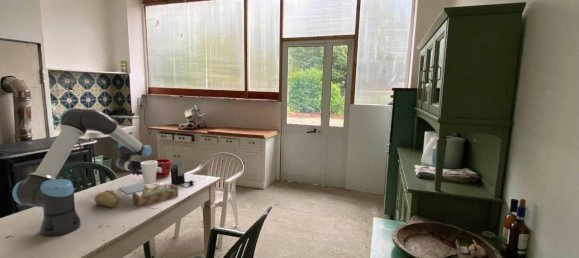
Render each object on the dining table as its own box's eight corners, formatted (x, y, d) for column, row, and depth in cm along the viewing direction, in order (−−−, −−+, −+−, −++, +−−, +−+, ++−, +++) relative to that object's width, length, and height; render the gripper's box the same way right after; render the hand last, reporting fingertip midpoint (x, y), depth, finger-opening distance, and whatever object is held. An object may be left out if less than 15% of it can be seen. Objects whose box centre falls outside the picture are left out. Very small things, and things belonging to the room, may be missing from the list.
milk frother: (172, 181, 209) (171, 161, 207) (194, 179, 214) (194, 160, 212) (169, 187, 196) (169, 166, 194) (194, 186, 200) (193, 165, 198)
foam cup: (157, 184, 178) (156, 163, 177) (140, 185, 175) (140, 164, 173) (158, 179, 187) (157, 160, 185) (142, 180, 184) (141, 161, 182)
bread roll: (105, 200, 173) (104, 187, 172) (124, 204, 168) (123, 190, 167) (89, 206, 164) (88, 192, 163) (109, 210, 159) (108, 196, 158)
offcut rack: (137, 206, 164) (137, 196, 163) (132, 203, 169) (132, 193, 168) (178, 196, 182) (177, 186, 181) (172, 192, 187) (172, 184, 186)
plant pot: (156, 179, 212) (155, 163, 210) (150, 175, 222) (150, 160, 220) (174, 176, 221) (173, 161, 219) (168, 172, 230) (167, 157, 229)
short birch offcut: (147, 192, 169) (146, 188, 169) (144, 190, 172) (143, 186, 172) (167, 187, 178) (166, 183, 177) (163, 185, 181) (163, 182, 180)
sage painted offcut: (145, 197, 169) (145, 193, 168) (142, 195, 172) (142, 191, 171) (168, 191, 179) (168, 187, 179) (165, 189, 182) (165, 185, 181)
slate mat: (127, 194, 182) (127, 193, 182) (118, 188, 192) (118, 187, 192) (151, 188, 193) (151, 188, 193) (142, 183, 203) (142, 182, 203)
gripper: (149, 168, 199) (169, 173, 187) (116, 175, 181) (136, 182, 169) (149, 157, 198) (169, 162, 186) (115, 163, 180) (135, 170, 168)
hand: (153, 172), depth 178 cm, fingers closed on foam cup, 9 cm apart
